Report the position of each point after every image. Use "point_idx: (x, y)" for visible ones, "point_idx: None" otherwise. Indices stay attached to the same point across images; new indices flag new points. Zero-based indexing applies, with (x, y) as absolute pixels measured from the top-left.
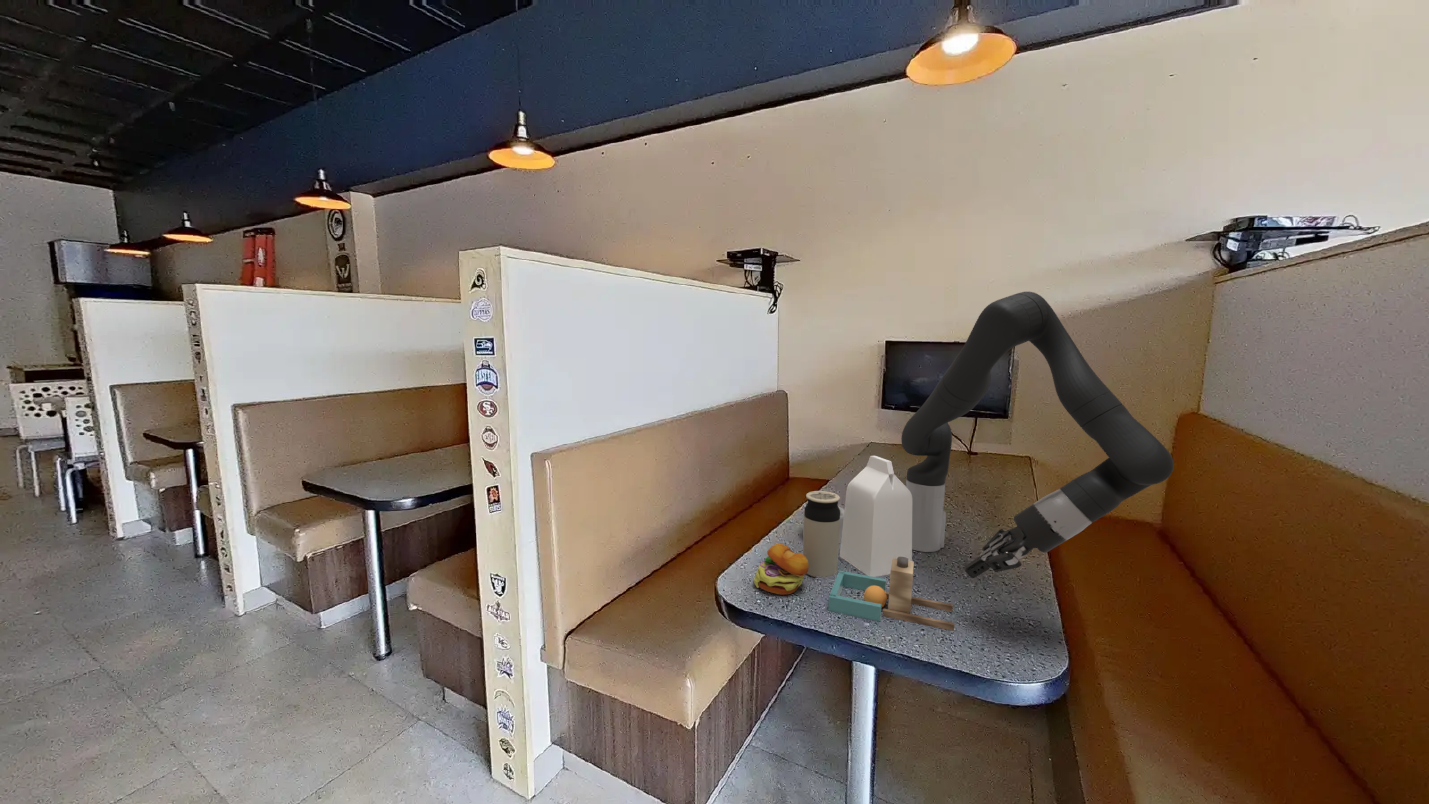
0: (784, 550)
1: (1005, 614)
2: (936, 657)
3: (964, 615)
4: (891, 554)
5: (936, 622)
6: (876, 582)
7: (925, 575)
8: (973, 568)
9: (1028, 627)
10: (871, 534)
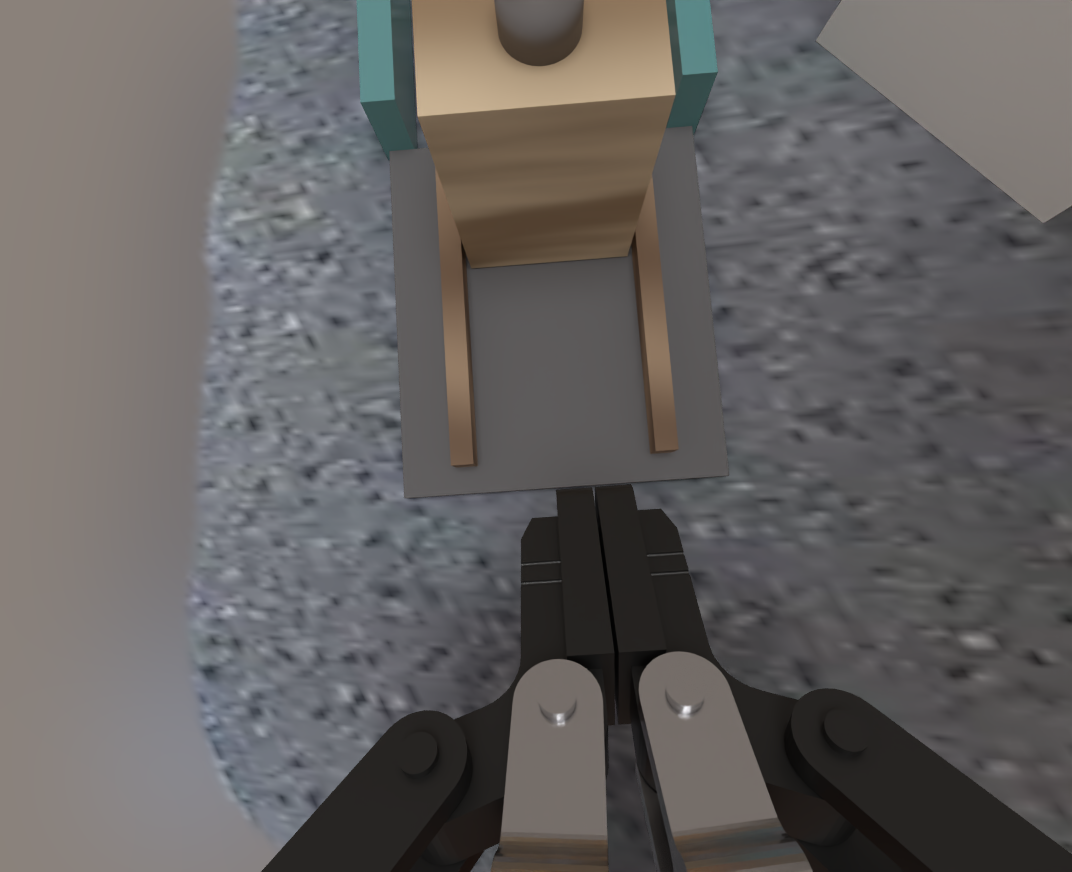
0: None
1: None
2: (234, 407)
3: (677, 512)
4: (1035, 17)
5: (447, 382)
6: (673, 39)
7: (1060, 296)
8: (521, 566)
9: None
10: None
